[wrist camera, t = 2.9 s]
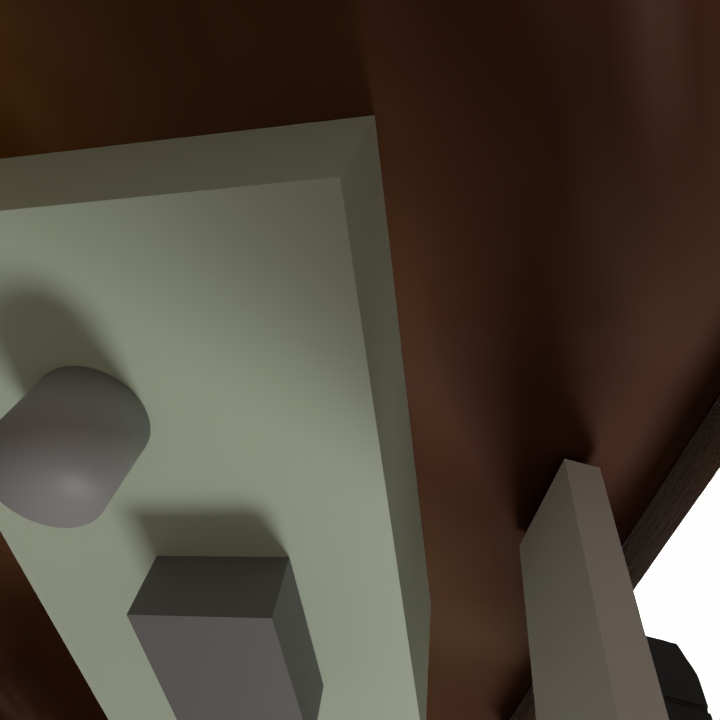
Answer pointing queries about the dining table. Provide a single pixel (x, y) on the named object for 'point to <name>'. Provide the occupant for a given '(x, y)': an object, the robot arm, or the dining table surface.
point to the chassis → (680, 562)
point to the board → (214, 425)
